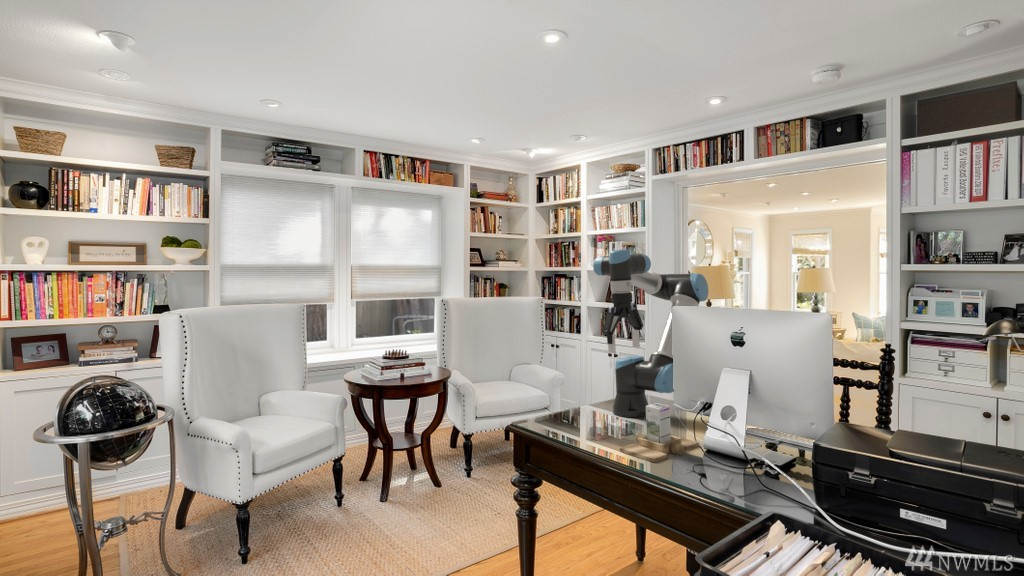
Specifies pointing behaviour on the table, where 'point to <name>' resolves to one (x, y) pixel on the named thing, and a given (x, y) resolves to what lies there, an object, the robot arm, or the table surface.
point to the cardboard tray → (658, 448)
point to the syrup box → (658, 423)
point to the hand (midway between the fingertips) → (624, 350)
